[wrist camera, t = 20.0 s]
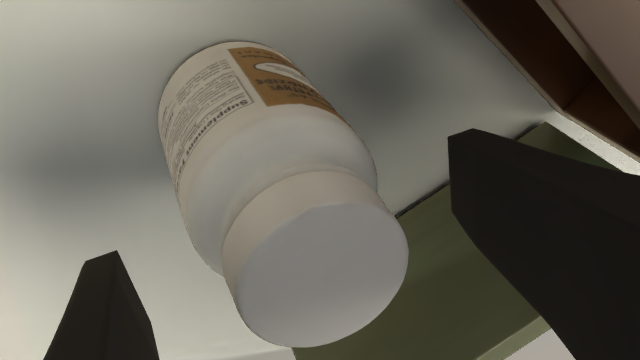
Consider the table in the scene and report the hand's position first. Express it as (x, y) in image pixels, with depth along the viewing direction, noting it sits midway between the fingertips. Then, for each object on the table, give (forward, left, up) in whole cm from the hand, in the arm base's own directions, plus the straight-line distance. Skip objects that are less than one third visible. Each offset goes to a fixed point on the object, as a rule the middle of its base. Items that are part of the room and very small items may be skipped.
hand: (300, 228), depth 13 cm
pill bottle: (0, 0, -6) cm, 6 cm away
